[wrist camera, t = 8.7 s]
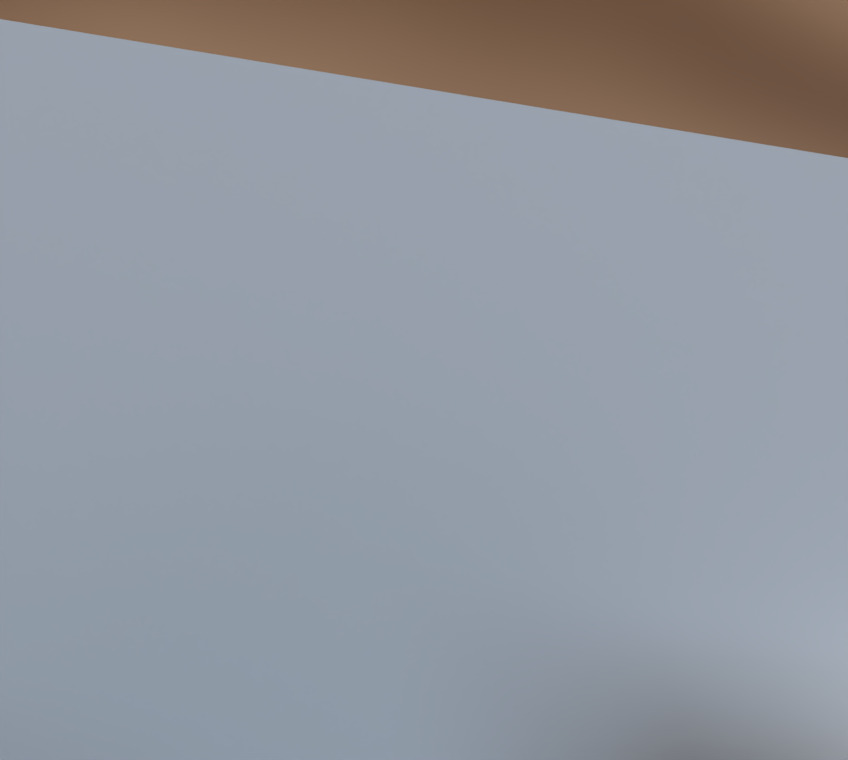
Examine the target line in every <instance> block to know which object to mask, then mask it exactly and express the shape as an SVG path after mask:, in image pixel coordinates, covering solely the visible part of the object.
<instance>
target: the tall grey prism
mask: <svg viewBox="0 0 848 760" xmlns="http://www.w3.org/2000/svg"><path fill="white" fill-rule="evenodd" d="M0 760H848V158H844V157H838V156H832V155H825V154H819V153H813V152H807V151H801V150H795V149H789V148H783V147H777V146H771V145H764V144H758V143H752V142H746V141H740V140H734V139H728V138H722V137H716V136H710V135H704V134H697V133H691V132H685V131H679V130H673V129H667V128H661V127H655V126H649V125H643V124H637V123H630V122H624V121H618V120H612V119H606V118H600V117H594V116H588V115H582V114H576V113H569V112H563V111H557V110H551V109H545V108H539V107H533V106H527V105H521V104H515V103H509V102H502V101H496V100H490V99H484V98H478V97H472V96H466V95H460V94H454V93H448V92H442V91H435V90H429V89H423V88H417V87H411V86H405V85H399V84H393V83H387V82H381V81H375V80H368V79H362V78H356V77H350V76H344V75H338V74H332V73H326V72H320V71H314V70H307V69H301V68H295V67H289V66H283V65H277V64H271V63H265V62H259V61H253V60H247V59H240V58H234V57H228V56H222V55H216V54H210V53H204V52H198V51H192V50H186V49H180V48H173V47H167V46H161V45H155V44H149V43H143V42H137V41H131V40H125V39H119V38H112V37H106V36H100V35H94V34H88V33H82V32H76V31H70V30H64V29H58V28H52V27H45V26H39V25H33V24H27V23H21V22H15V21H9V20H3V19H0Z"/></svg>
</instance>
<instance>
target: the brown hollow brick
mask: <svg viewBox="0 0 848 760" xmlns="http://www.w3.org/2000/svg"><path fill="white" fill-rule="evenodd" d="M0 19H3V20H9V21H15V22H21V23H27V24H33V25H39V26H45V27H52V28H58V29H64V30H70V31H76V32H82V33H88V34H94V35H100V36H106V37H112V38H119V39H125V40H131V41H137V42H143V43H149V44H155V45H161V46H167V47H173V48H180V49H186V50H192V51H198V52H204V53H210V54H216V55H222V56H228V57H234V58H240V59H247V60H253V61H259V62H265V63H271V64H277V65H283V66H289V67H295V68H301V69H307V70H314V71H320V72H326V73H332V74H338V75H344V76H350V77H356V78H362V79H368V80H375V81H381V82H387V83H393V84H399V85H405V86H411V87H417V88H423V89H429V90H435V91H442V92H448V93H454V94H460V95H466V96H472V97H478V98H484V99H490V100H496V101H502V102H509V103H515V104H521V105H527V106H533V107H539V108H545V109H551V110H557V111H563V112H569V113H576V114H582V115H588V116H594V117H600V118H606V119H612V120H618V121H624V122H630V123H637V124H643V125H649V126H655V127H661V128H667V129H673V130H679V131H685V132H691V133H697V134H704V135H710V136H716V137H722V138H728V139H734V140H740V141H746V142H752V143H758V144H764V145H771V146H777V147H783V148H789V149H795V150H801V151H807V152H813V153H819V154H825V155H832V156H838V157H844V158H848V0H0Z"/></svg>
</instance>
